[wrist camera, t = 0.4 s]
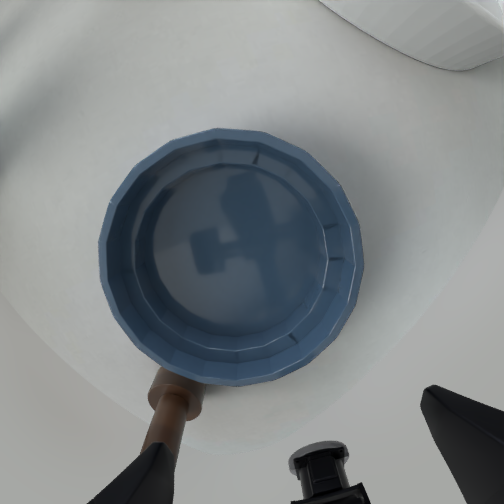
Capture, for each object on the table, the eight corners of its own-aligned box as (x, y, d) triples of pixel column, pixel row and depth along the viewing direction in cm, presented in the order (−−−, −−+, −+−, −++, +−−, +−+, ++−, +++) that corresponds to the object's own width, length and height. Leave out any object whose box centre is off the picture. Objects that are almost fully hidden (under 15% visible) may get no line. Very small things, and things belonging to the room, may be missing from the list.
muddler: (212, 396, 22) (199, 489, 12) (167, 400, 22) (140, 485, 12) (196, 359, 21) (171, 456, 11) (149, 364, 21) (107, 451, 11)
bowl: (347, 325, 20) (368, 356, 16) (164, 360, 21) (150, 395, 16) (315, 125, 17) (335, 108, 13) (107, 177, 17) (73, 176, 13)
